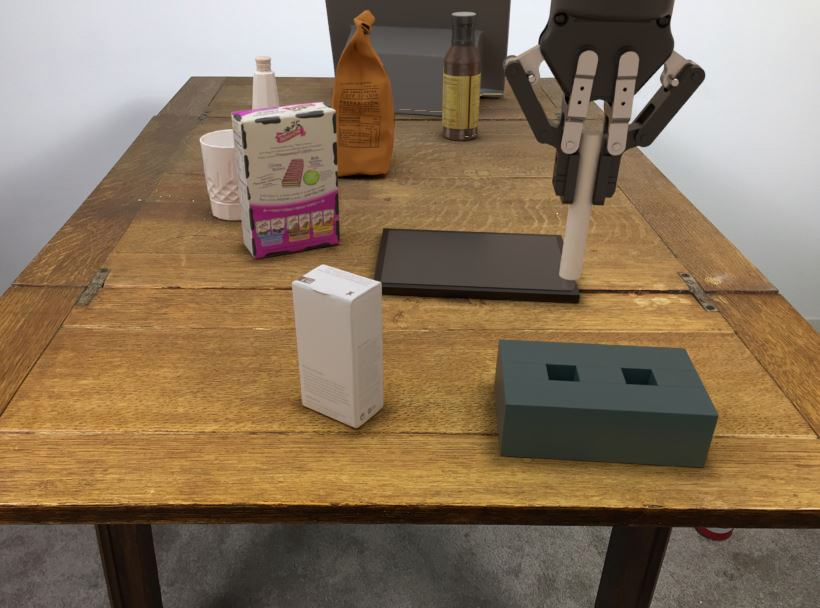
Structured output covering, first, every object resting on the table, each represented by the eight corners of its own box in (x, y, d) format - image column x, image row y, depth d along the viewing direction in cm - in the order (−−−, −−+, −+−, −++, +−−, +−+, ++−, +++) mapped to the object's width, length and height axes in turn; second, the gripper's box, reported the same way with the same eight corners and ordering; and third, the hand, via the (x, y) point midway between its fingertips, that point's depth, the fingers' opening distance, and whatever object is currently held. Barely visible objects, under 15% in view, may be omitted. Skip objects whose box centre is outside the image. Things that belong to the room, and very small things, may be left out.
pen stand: (493, 387, 70) (498, 338, 67) (673, 396, 69) (685, 347, 66) (500, 456, 62) (505, 404, 59) (704, 467, 60) (719, 415, 58)
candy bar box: (326, 230, 100) (322, 99, 92) (341, 245, 96) (339, 109, 88) (240, 244, 96) (229, 109, 88) (252, 260, 92) (241, 120, 84)
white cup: (196, 210, 105) (187, 137, 100) (244, 196, 110) (238, 125, 105) (229, 227, 100) (222, 151, 95) (278, 212, 105) (274, 138, 100)
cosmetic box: (385, 406, 67) (388, 279, 61) (354, 433, 64) (354, 302, 58) (328, 383, 70) (325, 260, 64) (296, 407, 67) (289, 280, 61)
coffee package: (397, 155, 126) (401, 8, 115) (391, 182, 115) (394, 22, 104) (336, 153, 127) (334, 7, 116) (324, 179, 116) (320, 21, 105)
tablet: (383, 235, 99) (383, 227, 98) (560, 242, 97) (561, 234, 96) (372, 294, 85) (372, 285, 84) (578, 303, 83) (580, 294, 83)
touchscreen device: (504, 94, 161) (519, -70, 145) (495, 123, 145) (510, -58, 129) (339, 84, 168) (336, -74, 151) (313, 110, 151) (306, -63, 135)
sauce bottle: (468, 129, 139) (476, 9, 129) (483, 139, 134) (493, 15, 124) (434, 132, 137) (440, 10, 127) (448, 143, 132) (455, 16, 122)
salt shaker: (253, 124, 141) (249, 60, 136) (250, 116, 146) (245, 54, 140) (283, 122, 142) (280, 59, 137) (279, 114, 147) (276, 53, 141)
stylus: (577, 283, 61) (601, 128, 54) (580, 293, 59) (605, 135, 53) (556, 282, 61) (578, 128, 55) (558, 292, 59) (581, 134, 53)
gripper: (512, -68, 45) (487, 217, 54) (759, -65, 44) (692, 225, 53) (504, -75, 51) (483, 180, 60) (720, -73, 50) (666, 186, 59)
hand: (581, 200), depth 56 cm, fingers closed on stylus, 1 cm apart
